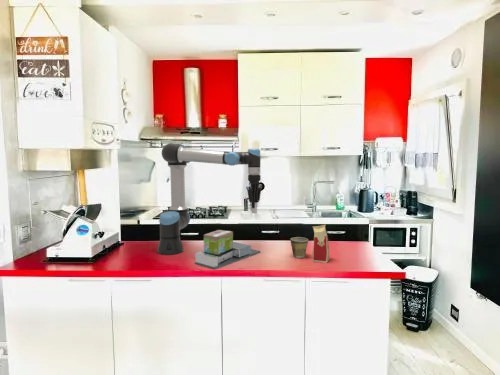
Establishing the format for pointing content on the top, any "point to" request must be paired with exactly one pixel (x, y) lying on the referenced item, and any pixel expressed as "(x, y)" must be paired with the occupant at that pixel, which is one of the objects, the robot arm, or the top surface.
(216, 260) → the vise
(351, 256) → the top surface
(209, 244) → the tea box
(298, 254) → the ceramic cup
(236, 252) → the free jaw
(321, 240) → the paper coffee bag
